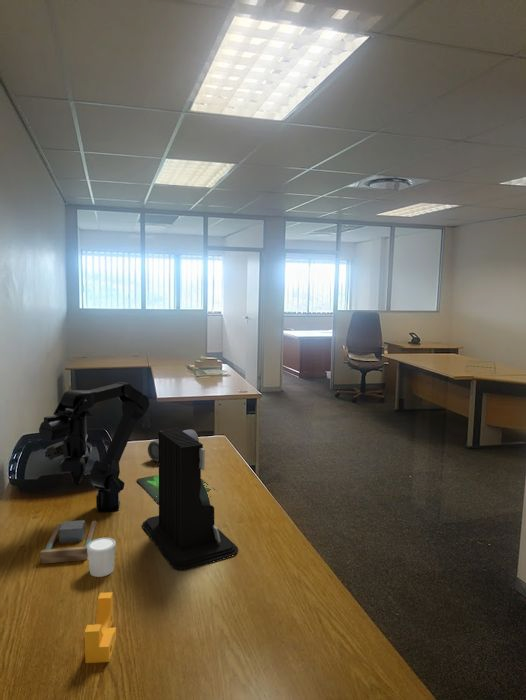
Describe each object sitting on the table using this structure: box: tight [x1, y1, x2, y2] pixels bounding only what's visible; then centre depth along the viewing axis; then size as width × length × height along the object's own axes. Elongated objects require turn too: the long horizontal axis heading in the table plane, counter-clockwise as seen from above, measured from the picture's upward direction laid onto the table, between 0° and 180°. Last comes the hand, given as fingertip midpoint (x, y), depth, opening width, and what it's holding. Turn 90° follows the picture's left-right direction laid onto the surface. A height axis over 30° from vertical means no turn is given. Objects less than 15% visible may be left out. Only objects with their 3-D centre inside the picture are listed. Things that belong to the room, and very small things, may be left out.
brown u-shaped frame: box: [39, 520, 98, 565], centre depth 134 cm, size 11×20×3 cm, turn 12°
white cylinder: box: [87, 537, 117, 578], centre depth 121 cm, size 7×7×7 cm
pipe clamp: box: [84, 591, 117, 664], centre depth 97 cm, size 12×4×6 cm, turn 5°
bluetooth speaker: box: [147, 429, 200, 462], centre depth 208 cm, size 23×9×10 cm, turn 147°
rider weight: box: [58, 519, 86, 544], centre depth 137 cm, size 6×5×4 cm
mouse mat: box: [136, 474, 216, 505], centre depth 175 cm, size 27×22×1 cm
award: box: [141, 427, 239, 571], centre depth 137 cm, size 30×19×30 cm, turn 31°
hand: (77, 484), depth 145 cm, fingers closed
